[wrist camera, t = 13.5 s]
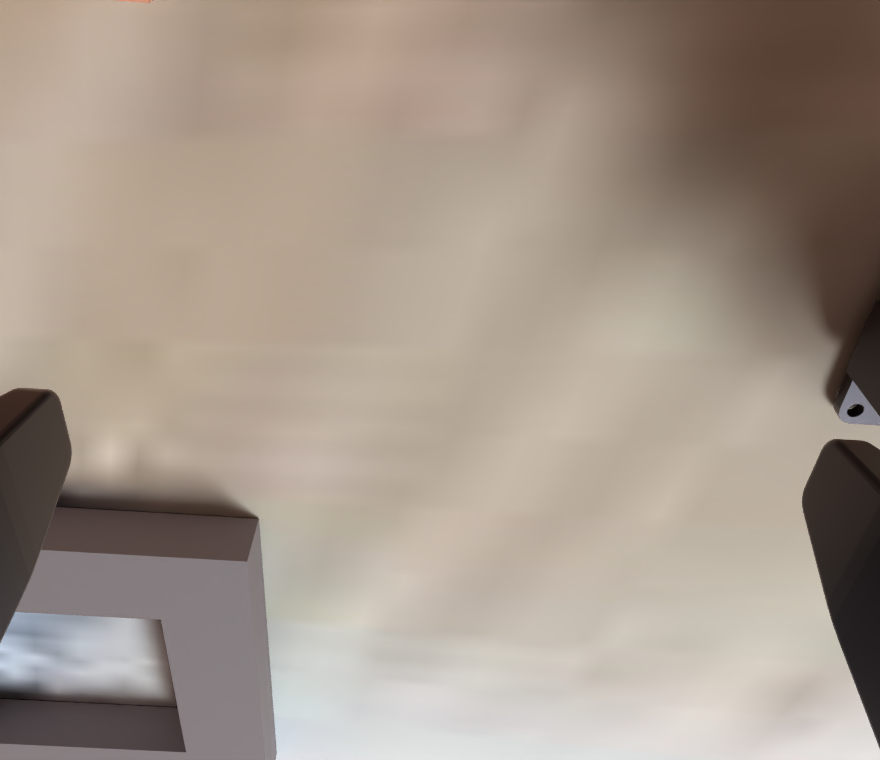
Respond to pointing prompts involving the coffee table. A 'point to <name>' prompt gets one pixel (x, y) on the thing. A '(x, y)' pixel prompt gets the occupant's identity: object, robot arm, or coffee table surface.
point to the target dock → (144, 0)
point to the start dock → (184, 627)
